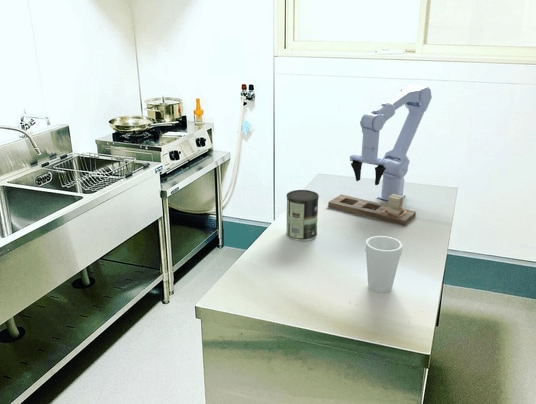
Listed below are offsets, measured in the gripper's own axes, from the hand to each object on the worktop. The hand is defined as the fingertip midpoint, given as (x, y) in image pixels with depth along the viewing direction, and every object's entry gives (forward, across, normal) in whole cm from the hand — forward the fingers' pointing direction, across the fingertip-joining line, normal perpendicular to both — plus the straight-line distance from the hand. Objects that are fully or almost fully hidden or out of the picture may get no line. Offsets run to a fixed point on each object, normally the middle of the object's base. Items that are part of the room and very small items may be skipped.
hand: (367, 182), depth 195 cm
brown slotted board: (+9, +4, -4) cm, 11 cm away
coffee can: (+10, -6, -36) cm, 38 cm away
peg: (+9, +13, -4) cm, 17 cm away
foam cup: (+10, +29, -52) cm, 60 cm away
